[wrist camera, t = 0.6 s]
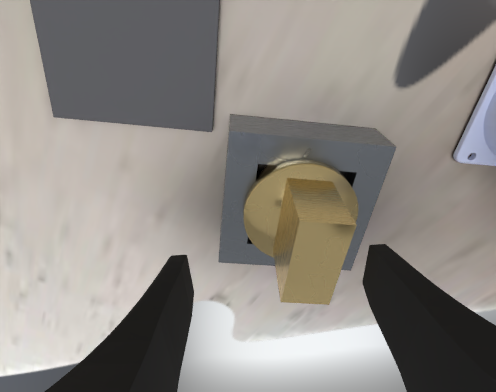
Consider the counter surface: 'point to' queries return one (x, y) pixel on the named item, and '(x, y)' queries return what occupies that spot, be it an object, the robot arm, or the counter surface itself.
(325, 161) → the housing
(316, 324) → the counter surface
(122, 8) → the mat
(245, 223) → the end cover
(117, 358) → the robot arm
